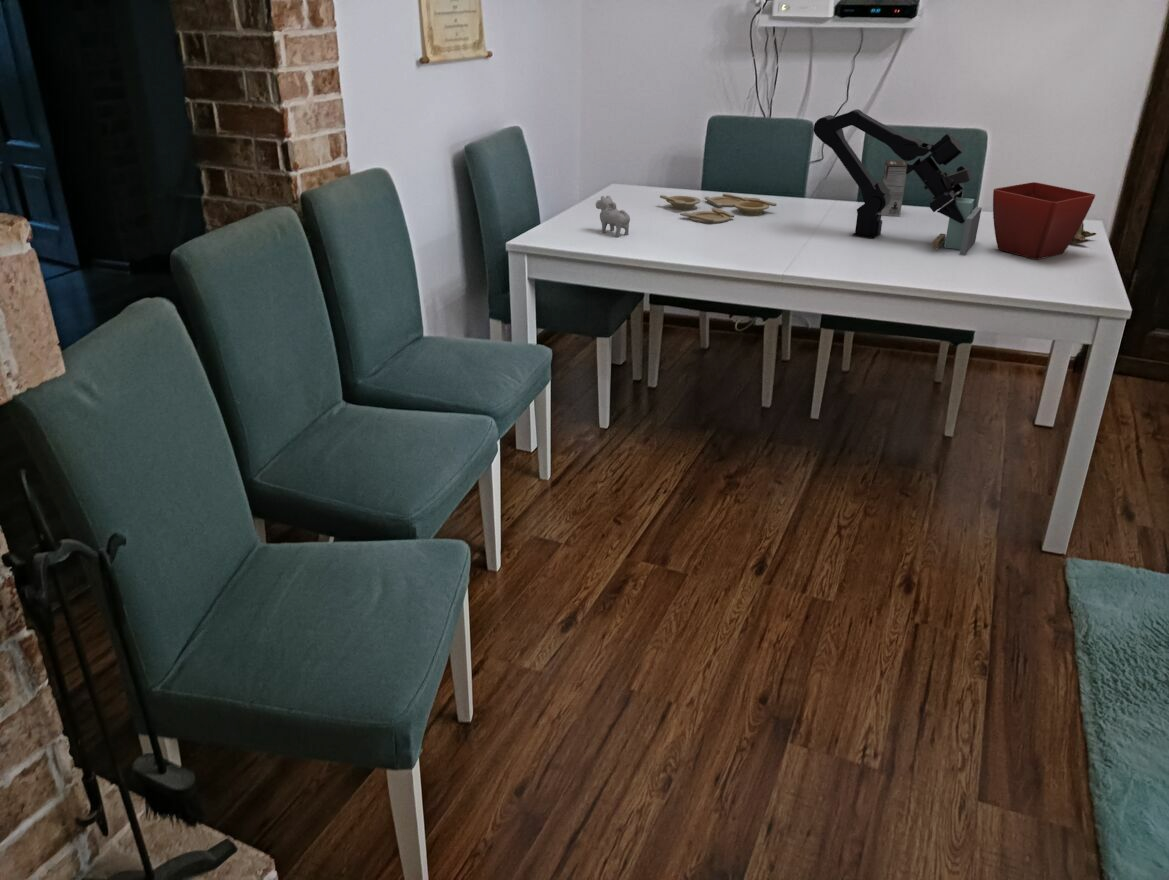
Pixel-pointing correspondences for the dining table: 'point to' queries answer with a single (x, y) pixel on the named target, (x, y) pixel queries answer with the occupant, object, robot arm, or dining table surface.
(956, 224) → the cabinet box
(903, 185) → the coffee box
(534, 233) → the dining table surface
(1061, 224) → the plant pot
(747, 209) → the tableware set
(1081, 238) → the ceramic sculpture
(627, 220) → the dog figurine
